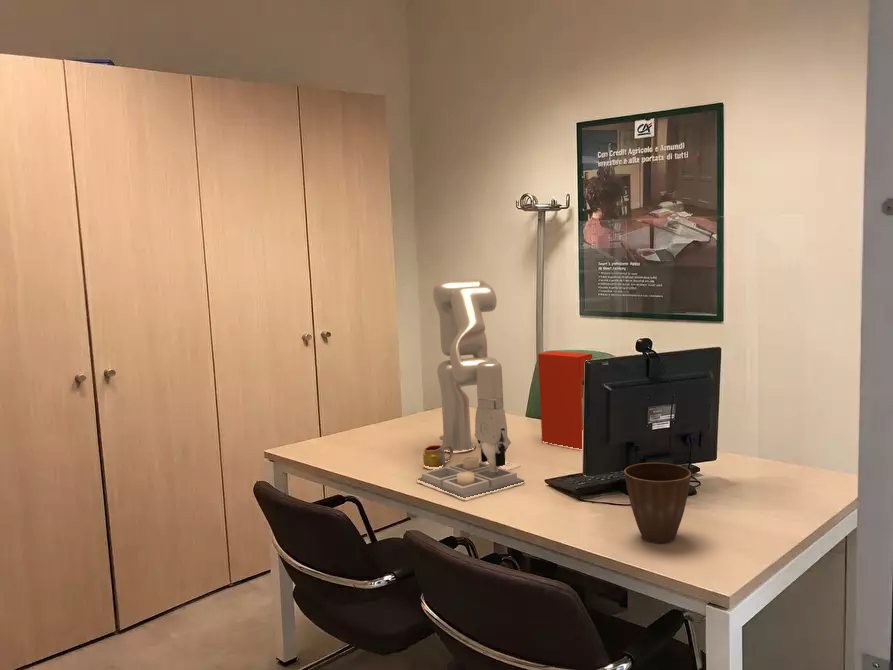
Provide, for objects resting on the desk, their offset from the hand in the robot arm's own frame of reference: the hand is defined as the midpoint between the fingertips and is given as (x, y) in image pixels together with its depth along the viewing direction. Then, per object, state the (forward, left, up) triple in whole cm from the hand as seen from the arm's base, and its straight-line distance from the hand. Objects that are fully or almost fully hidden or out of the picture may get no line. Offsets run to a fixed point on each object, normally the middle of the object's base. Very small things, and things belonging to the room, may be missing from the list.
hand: (493, 462), depth 228 cm
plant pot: (+59, +1, -6) cm, 60 cm away
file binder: (-16, +46, -7) cm, 49 cm away
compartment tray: (-6, -5, -6) cm, 10 cm away
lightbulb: (0, 0, -3) cm, 3 cm away
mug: (-28, 0, -7) cm, 28 cm away
